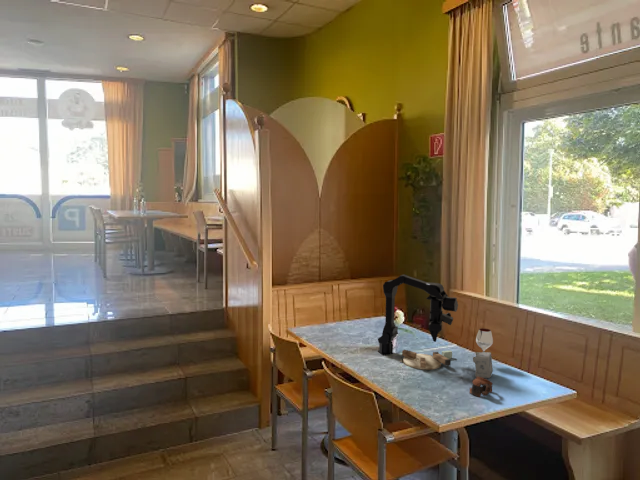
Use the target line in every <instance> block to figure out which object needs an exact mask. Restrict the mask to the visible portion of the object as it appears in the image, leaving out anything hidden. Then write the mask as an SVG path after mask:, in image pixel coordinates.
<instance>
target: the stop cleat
mask: <svg viewBox="0 0 640 480" xmlns="http://www.w3.org/2000/svg"><path fill="white" fill-rule="evenodd" d="M441 355H443V356H444V357H446V358H448V359H450V360H451V359H452V358H453V351H452V350H449V349H448V350H442V351H441Z"/></svg>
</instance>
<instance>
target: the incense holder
mask: <svg viewBox="0 0 640 480" xmlns="http://www.w3.org/2000/svg"><path fill="white" fill-rule="evenodd" d="M472 362H473V363H474V365H475V373H474V376H475V377H476V376H478V377H482V378H484V379H490V378H491V376H492V374H493V371H494V369H493V368H494V367H493V361H492V353H491V352H490V351H489V352H488V351H487V352H483V351H482V352H478V351H477V352H475V356H472Z"/></svg>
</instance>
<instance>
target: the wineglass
mask: <svg viewBox="0 0 640 480" xmlns="http://www.w3.org/2000/svg"><path fill="white" fill-rule="evenodd" d="M477 331H478V332H477V333H476V338H475V342H476V344H477V346H478V347H479V348H481V350H482V352H485V351H486V350H487V349H489V348H490V347H491V346H492V345H493V343H494V338H493V334H492V330H491V329H489V328H485V327H484V328H483V327H481V328H479V329H478V330H477Z"/></svg>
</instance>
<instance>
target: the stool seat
mask: <svg viewBox="0 0 640 480" xmlns="http://www.w3.org/2000/svg"><path fill="white" fill-rule="evenodd" d="M401 352H402V353H401V356H403V359H402V360H403V364H404V365H405V366H407V367H409V368H412V369H416V370H423V371H430V370H437V369H439V368H441V367H442V363H441V362H439V361H438V360H436V359H434V358H433V355H431V354H426V353H417V352H415V351H411V350H408V349H403V350H402V351H401Z"/></svg>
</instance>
